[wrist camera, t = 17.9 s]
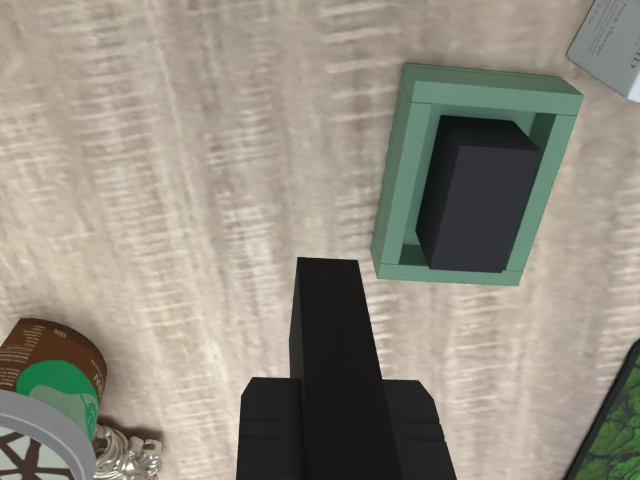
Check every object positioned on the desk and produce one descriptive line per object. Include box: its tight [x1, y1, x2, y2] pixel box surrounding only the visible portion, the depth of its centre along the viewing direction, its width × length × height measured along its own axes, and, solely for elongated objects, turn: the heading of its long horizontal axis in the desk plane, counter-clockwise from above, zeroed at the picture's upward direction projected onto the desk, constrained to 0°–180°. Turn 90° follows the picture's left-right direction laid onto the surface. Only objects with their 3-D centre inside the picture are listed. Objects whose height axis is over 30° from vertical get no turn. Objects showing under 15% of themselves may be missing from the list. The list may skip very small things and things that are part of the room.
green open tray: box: [371, 63, 584, 286], centre depth 37 cm, size 13×9×3 cm
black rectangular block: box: [415, 115, 541, 273], centre depth 36 cm, size 8×4×4 cm, turn 174°
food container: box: [0, 319, 107, 480], centre depth 41 cm, size 12×6×10 cm, turn 1°
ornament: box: [91, 423, 162, 480], centre depth 49 cm, size 8×7×4 cm
